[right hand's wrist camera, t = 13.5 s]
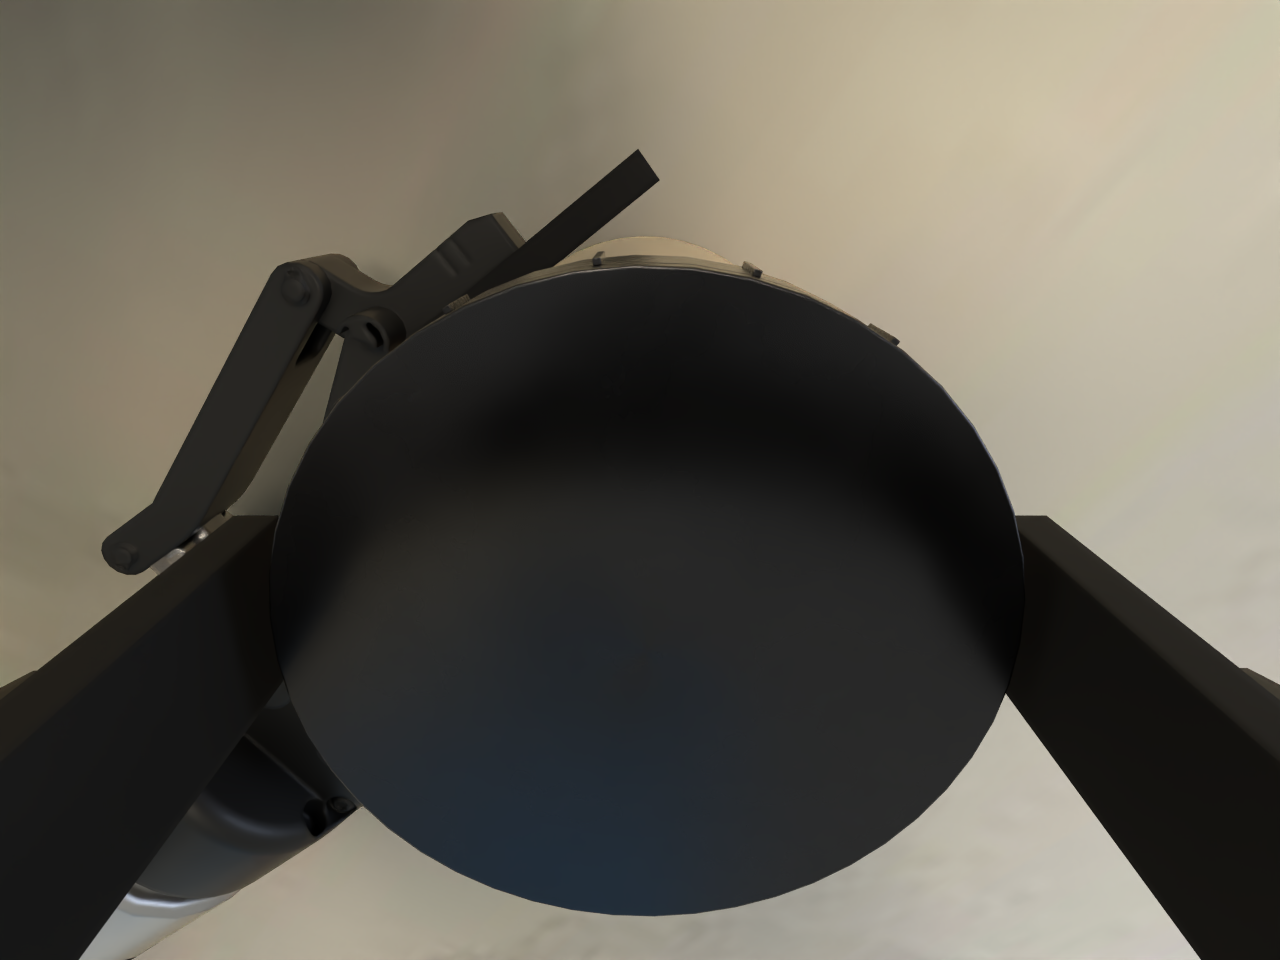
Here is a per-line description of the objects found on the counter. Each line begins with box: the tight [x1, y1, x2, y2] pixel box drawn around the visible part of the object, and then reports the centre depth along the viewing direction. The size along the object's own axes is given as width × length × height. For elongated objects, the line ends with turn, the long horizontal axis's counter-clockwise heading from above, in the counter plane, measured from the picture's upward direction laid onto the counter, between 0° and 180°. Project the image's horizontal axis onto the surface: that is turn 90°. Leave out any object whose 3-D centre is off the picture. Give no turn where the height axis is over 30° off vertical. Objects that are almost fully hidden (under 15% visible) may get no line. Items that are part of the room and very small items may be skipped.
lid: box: [269, 251, 1025, 916], centre depth 12 cm, size 11×11×2 cm
